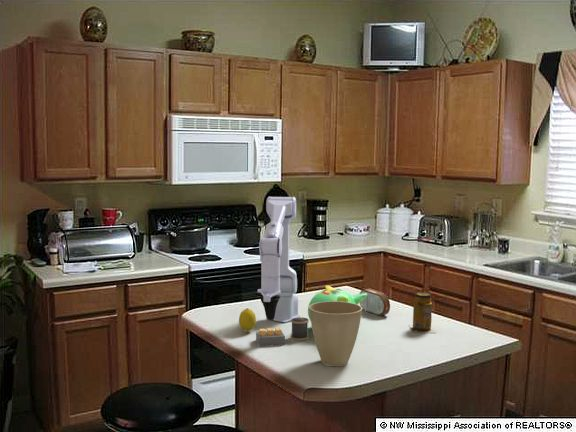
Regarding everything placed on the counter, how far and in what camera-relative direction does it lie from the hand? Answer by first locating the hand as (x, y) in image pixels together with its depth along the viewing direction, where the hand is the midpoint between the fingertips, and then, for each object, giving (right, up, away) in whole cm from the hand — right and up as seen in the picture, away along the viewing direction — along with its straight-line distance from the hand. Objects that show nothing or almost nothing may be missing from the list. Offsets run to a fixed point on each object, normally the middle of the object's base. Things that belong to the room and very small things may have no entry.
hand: (270, 319), depth 191 cm
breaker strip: (0, -8, +1) cm, 8 cm away
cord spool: (+9, -7, +6) cm, 13 cm away
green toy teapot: (+21, -6, +14) cm, 26 cm away
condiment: (+51, -6, +16) cm, 53 cm away
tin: (+37, -4, +37) cm, 52 cm away
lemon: (-8, -6, +12) cm, 15 cm away
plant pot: (+19, -10, -16) cm, 27 cm away
